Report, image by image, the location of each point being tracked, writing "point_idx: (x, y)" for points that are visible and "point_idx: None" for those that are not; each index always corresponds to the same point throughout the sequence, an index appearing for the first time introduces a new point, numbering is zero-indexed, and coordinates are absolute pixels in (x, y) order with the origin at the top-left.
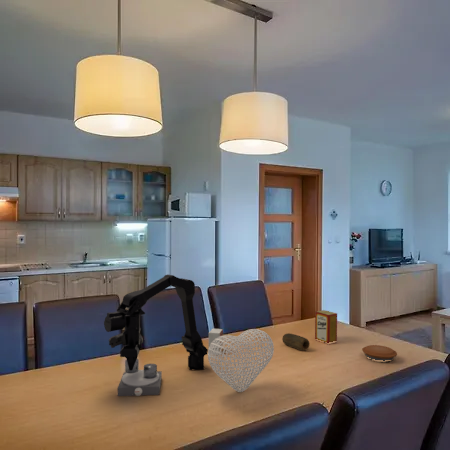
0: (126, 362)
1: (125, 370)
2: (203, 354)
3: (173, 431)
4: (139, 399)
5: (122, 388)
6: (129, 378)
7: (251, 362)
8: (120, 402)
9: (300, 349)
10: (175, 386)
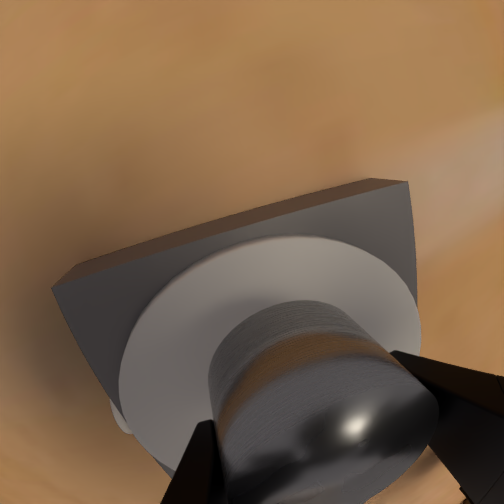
0: (241, 458)
1: (238, 339)
2: (462, 492)
3: (4, 497)
4: (93, 407)
5: (72, 323)
6: (221, 340)
7: None
8: (16, 323)
9: (466, 500)
10: None
